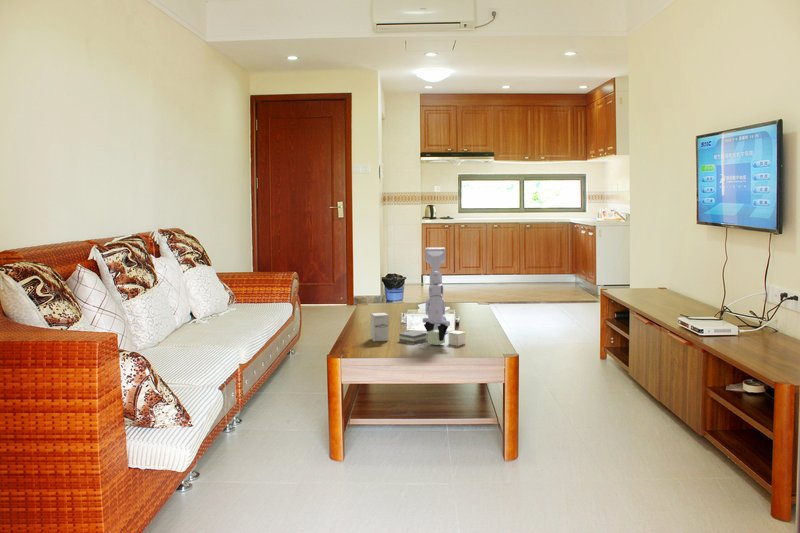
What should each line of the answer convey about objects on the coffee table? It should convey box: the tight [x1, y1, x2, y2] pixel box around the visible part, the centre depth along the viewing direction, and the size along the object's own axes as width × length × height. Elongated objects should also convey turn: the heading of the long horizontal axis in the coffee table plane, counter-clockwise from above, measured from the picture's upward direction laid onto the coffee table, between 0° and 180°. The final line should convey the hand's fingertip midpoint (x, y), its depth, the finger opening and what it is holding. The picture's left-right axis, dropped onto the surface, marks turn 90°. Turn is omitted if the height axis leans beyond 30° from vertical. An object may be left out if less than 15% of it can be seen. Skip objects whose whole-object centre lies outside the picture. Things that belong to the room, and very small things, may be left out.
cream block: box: [448, 330, 466, 347], centre depth 316 cm, size 6×6×6 cm
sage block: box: [427, 330, 446, 346], centre depth 313 cm, size 6×6×6 cm
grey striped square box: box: [398, 330, 427, 345], centre depth 323 cm, size 9×9×4 cm
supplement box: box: [369, 312, 390, 343], centre depth 325 cm, size 7×7×13 cm
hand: (436, 339), depth 314 cm, fingers closed on sage block, 6 cm apart
